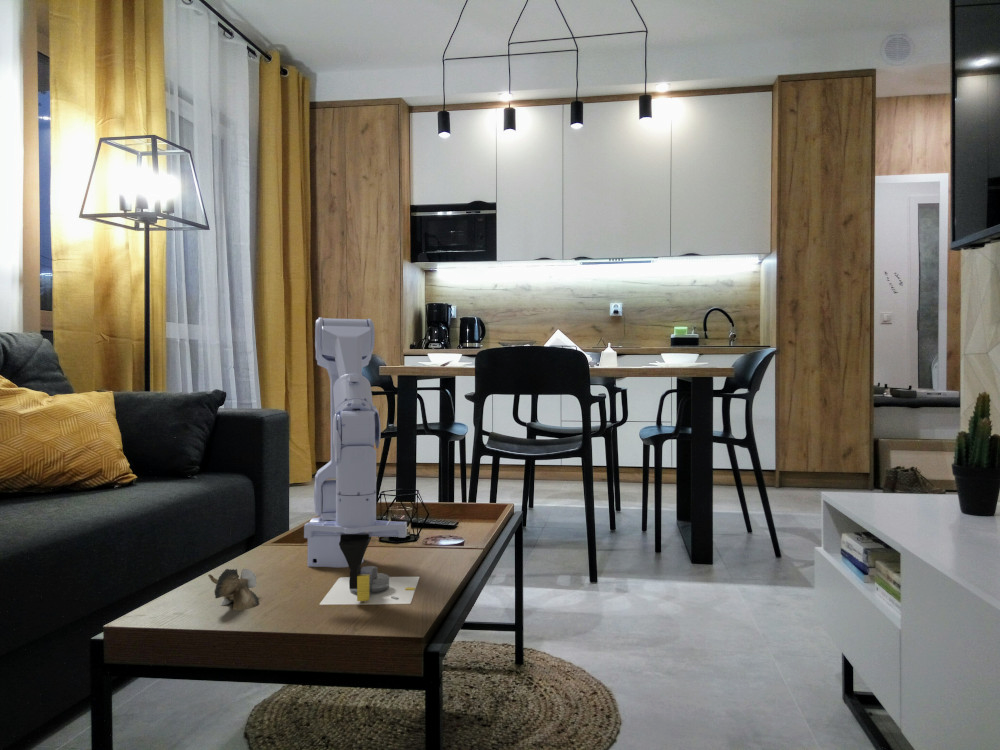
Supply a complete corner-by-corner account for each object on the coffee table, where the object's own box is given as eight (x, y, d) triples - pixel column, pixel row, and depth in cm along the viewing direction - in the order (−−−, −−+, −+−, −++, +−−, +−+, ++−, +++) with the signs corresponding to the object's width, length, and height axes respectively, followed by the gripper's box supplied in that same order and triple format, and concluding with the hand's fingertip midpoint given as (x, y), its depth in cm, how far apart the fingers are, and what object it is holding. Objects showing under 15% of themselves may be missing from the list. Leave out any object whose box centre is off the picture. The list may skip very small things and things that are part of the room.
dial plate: (319, 611, 99) (319, 603, 99) (339, 583, 113) (339, 576, 113) (410, 610, 99) (410, 602, 99) (419, 582, 113) (419, 575, 113)
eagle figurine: (192, 600, 100) (200, 605, 93) (220, 555, 103) (230, 556, 96) (239, 623, 103) (251, 629, 95) (265, 577, 106) (279, 580, 98)
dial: (352, 582, 109) (352, 558, 109) (391, 581, 109) (391, 558, 109) (341, 602, 98) (341, 576, 98) (384, 601, 99) (384, 575, 99)
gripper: (298, 497, 96) (298, 595, 96) (403, 496, 97) (403, 594, 96) (310, 489, 103) (310, 581, 103) (408, 489, 104) (408, 580, 104)
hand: (355, 586), depth 100 cm, fingers closed, pressing on dial
